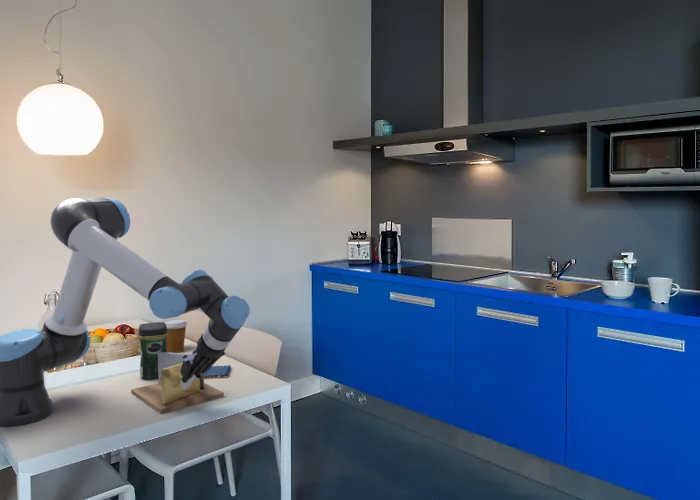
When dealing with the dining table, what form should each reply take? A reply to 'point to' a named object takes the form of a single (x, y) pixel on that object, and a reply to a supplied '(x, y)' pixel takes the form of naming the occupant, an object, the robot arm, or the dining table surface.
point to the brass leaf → (175, 384)
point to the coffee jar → (151, 347)
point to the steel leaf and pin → (173, 363)
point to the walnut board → (154, 399)
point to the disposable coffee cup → (175, 335)
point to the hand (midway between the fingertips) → (183, 385)
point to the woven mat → (217, 371)
